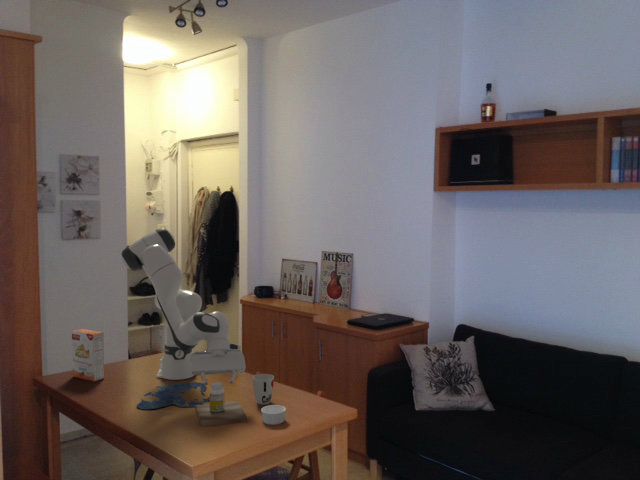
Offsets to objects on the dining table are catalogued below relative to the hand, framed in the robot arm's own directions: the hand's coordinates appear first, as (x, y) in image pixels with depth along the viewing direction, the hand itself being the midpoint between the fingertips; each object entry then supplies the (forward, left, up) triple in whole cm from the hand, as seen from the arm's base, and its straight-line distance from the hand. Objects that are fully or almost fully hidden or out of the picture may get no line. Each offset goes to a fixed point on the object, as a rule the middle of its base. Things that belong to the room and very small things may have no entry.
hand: (218, 383), depth 216 cm
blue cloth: (-23, -14, -11) cm, 29 cm away
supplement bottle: (+2, -1, -9) cm, 9 cm away
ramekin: (+15, +17, -11) cm, 25 cm away
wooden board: (+4, 0, -10) cm, 11 cm away
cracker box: (-59, -48, -11) cm, 76 cm away
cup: (-5, +18, -11) cm, 21 cm away
